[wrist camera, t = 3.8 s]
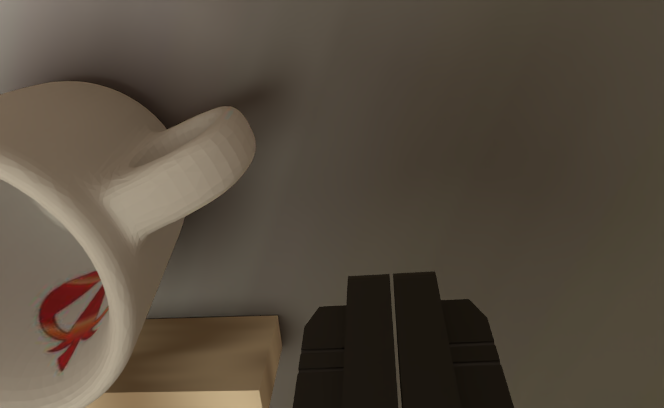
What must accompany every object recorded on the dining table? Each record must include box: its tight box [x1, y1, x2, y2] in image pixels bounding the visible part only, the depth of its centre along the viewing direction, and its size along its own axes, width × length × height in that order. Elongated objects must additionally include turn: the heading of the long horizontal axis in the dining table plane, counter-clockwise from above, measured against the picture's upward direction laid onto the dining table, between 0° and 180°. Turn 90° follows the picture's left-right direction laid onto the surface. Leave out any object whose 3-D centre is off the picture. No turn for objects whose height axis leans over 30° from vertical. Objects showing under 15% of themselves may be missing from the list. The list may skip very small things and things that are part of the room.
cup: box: [0, 81, 256, 408], centre depth 16 cm, size 11×8×8 cm
